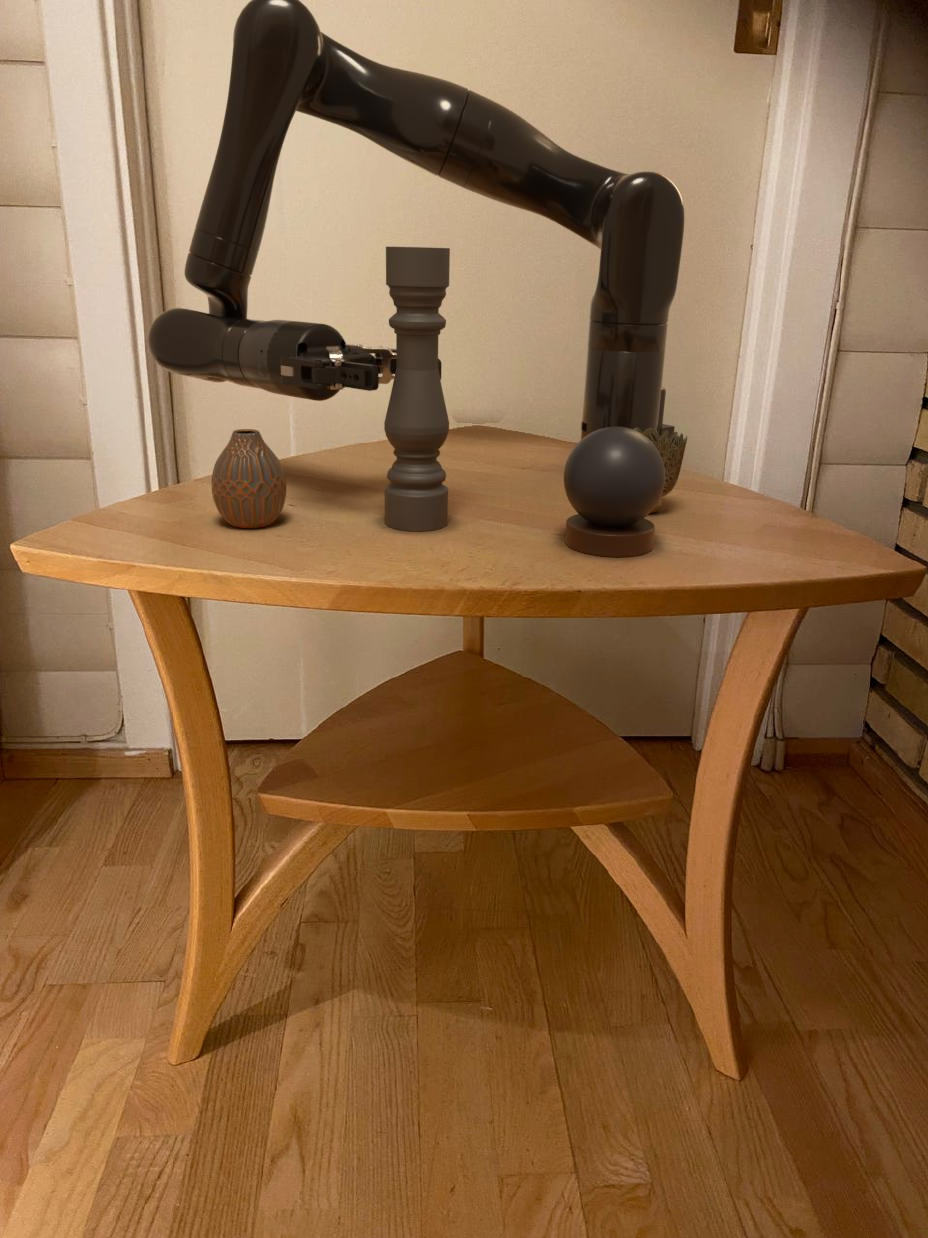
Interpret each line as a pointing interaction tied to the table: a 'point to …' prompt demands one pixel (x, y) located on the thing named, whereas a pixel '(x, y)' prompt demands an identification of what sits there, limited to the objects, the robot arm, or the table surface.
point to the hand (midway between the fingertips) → (408, 374)
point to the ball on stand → (613, 492)
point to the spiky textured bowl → (667, 456)
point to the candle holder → (417, 390)
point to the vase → (248, 481)
